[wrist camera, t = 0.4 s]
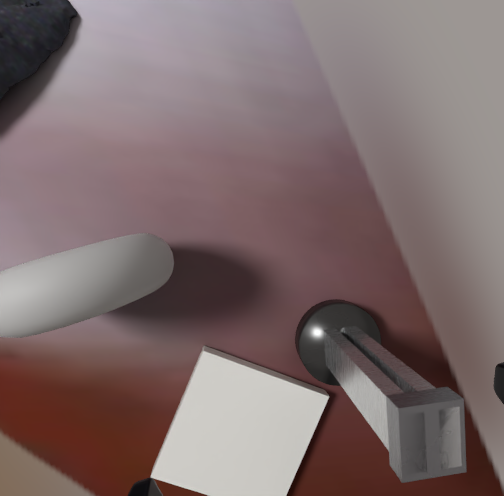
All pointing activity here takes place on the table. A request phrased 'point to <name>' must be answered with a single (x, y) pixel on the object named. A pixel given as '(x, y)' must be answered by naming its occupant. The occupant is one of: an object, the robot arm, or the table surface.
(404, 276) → the table surface
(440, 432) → the grey channel block
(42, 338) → the table surface
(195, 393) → the ceramic tile
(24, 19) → the folded grey shirt
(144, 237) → the donut
